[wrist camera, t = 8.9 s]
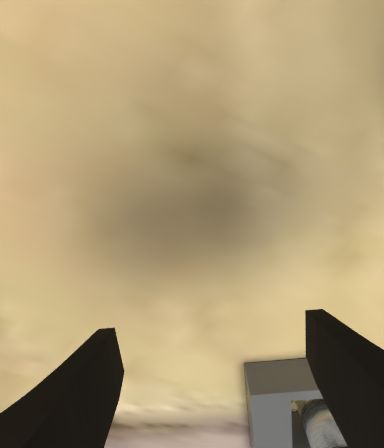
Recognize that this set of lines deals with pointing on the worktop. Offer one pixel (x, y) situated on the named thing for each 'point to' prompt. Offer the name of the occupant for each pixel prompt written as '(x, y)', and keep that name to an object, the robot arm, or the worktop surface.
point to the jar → (319, 424)
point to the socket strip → (278, 402)
